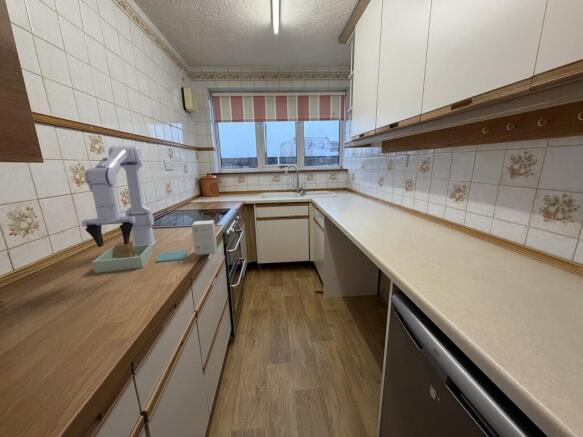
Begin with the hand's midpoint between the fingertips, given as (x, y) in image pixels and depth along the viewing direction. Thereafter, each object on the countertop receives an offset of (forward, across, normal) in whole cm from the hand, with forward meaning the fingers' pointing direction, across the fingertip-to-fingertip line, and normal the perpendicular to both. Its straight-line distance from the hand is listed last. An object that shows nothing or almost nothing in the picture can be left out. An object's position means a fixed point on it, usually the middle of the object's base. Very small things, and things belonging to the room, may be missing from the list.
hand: (114, 244), depth 82 cm
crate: (+11, -1, +10) cm, 15 cm away
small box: (+10, +28, +12) cm, 32 cm away
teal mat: (+10, +15, +11) cm, 21 cm away
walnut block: (+9, -1, +10) cm, 13 cm away
